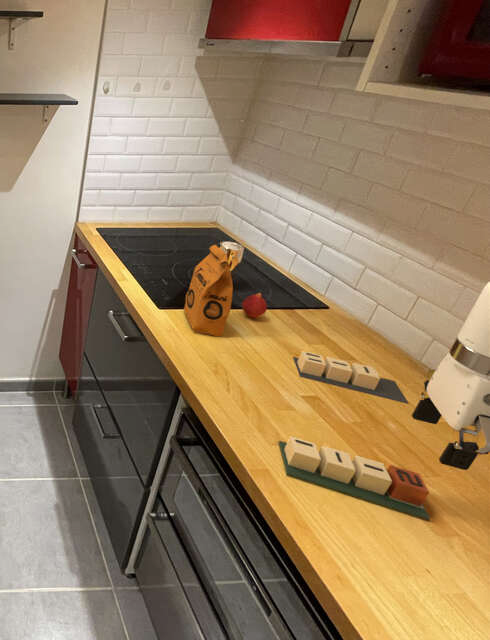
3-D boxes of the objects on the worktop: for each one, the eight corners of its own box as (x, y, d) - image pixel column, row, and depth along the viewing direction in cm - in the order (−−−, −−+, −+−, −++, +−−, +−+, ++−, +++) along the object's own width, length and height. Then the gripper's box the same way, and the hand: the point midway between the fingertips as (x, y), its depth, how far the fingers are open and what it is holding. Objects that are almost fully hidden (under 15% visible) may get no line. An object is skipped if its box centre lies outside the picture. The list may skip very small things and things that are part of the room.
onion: (240, 320, 127) (249, 296, 123) (237, 309, 132) (245, 286, 128) (264, 324, 125) (273, 300, 122) (260, 314, 130) (268, 290, 126)
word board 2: (408, 481, 80) (418, 465, 79) (429, 521, 74) (441, 504, 72) (278, 442, 88) (285, 426, 86) (286, 475, 81) (294, 458, 79)
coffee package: (186, 332, 121) (206, 260, 112) (179, 308, 131) (197, 241, 122) (226, 340, 118) (250, 266, 109) (216, 315, 129) (237, 246, 120)
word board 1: (393, 382, 104) (401, 368, 102) (408, 406, 97) (416, 391, 96) (291, 358, 111) (297, 344, 110) (299, 378, 105) (305, 364, 103)
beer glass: (218, 294, 139) (231, 251, 133) (202, 283, 146) (214, 242, 139) (236, 292, 141) (250, 249, 135) (220, 281, 147) (232, 240, 141)
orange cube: (410, 487, 79) (419, 472, 77) (420, 506, 75) (430, 492, 74) (381, 478, 80) (390, 464, 79) (390, 497, 77) (399, 482, 75)
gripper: (565, 406, 57) (500, 495, 64) (488, 332, 72) (441, 412, 79) (486, 389, 60) (431, 476, 67) (427, 321, 74) (387, 399, 81)
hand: (437, 441), depth 73 cm, fingers open, 9 cm apart
